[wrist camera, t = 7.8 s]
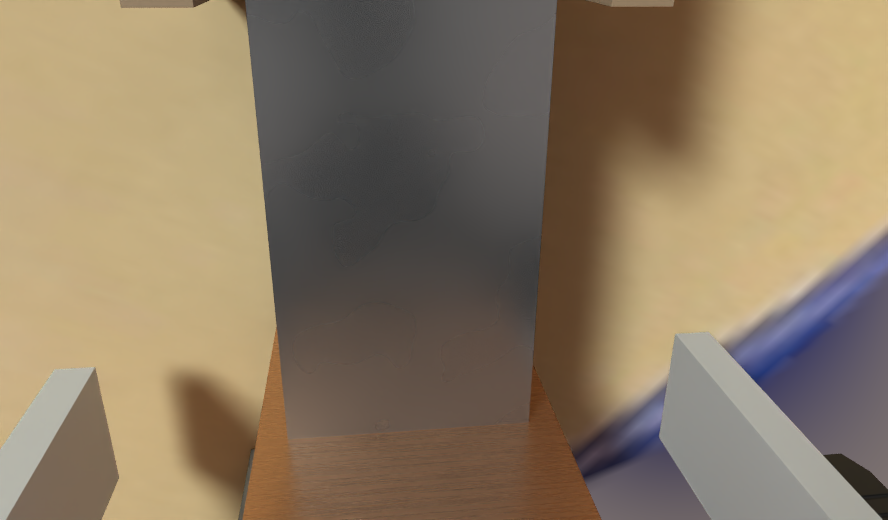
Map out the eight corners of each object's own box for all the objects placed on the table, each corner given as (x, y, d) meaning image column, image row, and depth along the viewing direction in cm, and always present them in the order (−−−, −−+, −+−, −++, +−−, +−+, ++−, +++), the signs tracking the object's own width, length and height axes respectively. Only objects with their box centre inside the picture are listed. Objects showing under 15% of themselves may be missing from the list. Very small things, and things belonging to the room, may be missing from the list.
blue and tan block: (235, -105, 12) (29, -189, 4) (529, -101, 13) (835, -167, 5) (297, 535, 18) (259, 1013, 10) (498, 517, 18) (615, 956, 10)
